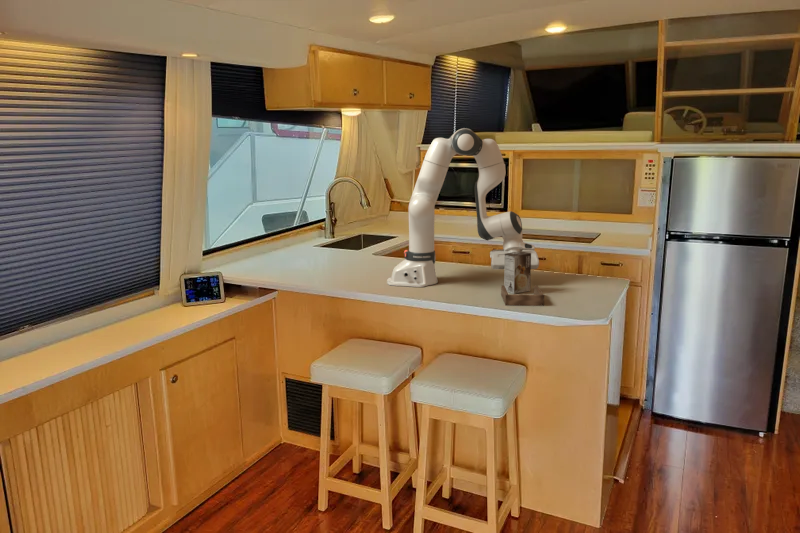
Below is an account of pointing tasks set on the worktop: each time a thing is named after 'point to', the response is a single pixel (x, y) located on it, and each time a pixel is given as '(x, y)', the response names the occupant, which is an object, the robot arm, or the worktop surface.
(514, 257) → the coffee box
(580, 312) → the worktop surface
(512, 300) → the box
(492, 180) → the robot arm
